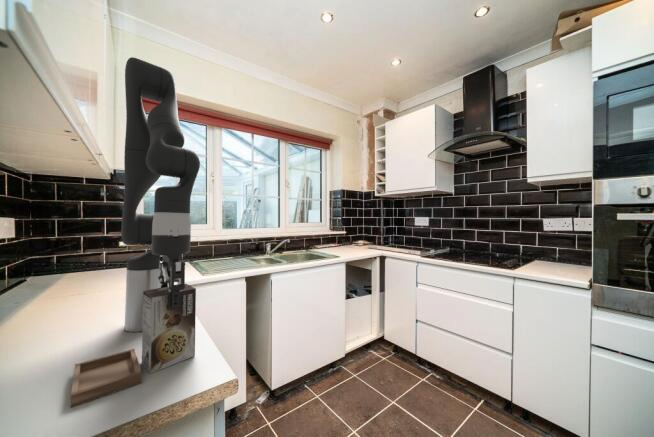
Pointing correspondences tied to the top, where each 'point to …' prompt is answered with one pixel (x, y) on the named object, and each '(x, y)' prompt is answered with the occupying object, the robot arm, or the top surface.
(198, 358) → the top surface
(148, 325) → the coffee box
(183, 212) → the robot arm
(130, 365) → the shallow square tray
